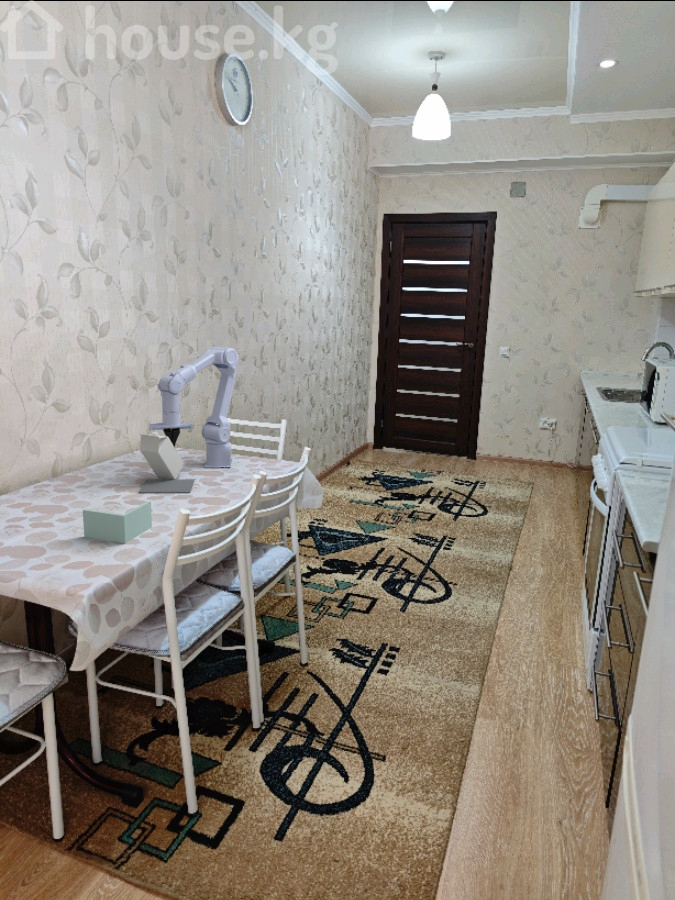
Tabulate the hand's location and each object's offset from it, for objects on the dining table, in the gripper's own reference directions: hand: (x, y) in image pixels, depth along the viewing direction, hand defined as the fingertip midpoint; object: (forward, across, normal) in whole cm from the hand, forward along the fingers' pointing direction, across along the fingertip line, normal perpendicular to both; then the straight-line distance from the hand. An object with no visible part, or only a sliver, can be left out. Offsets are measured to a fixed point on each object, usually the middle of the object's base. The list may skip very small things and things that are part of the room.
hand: (172, 449), depth 205 cm
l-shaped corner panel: (+10, +21, +49) cm, 54 cm away
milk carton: (+7, 0, +1) cm, 7 cm away
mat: (+9, +3, +12) cm, 16 cm away
